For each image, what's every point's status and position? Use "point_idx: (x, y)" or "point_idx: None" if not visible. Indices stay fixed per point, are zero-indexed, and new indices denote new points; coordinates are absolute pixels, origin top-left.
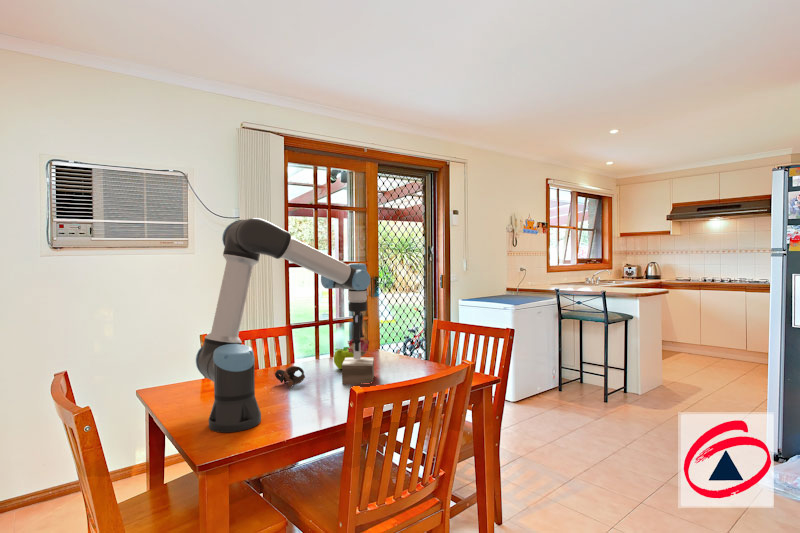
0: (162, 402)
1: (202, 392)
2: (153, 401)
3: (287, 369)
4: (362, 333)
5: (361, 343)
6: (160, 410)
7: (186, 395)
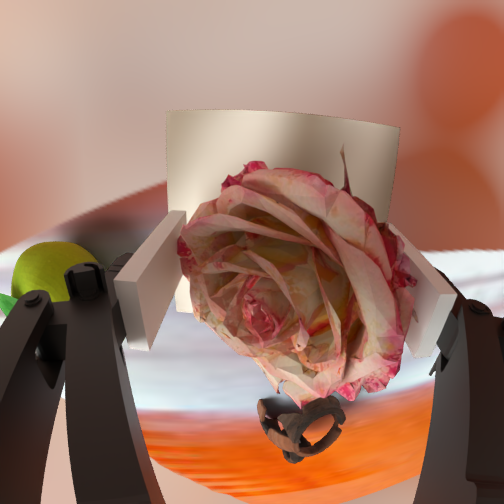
0: (355, 494)
1: (318, 486)
2: (346, 500)
3: (315, 452)
4: (35, 302)
5: (410, 276)
6: (392, 484)
7: (329, 492)
